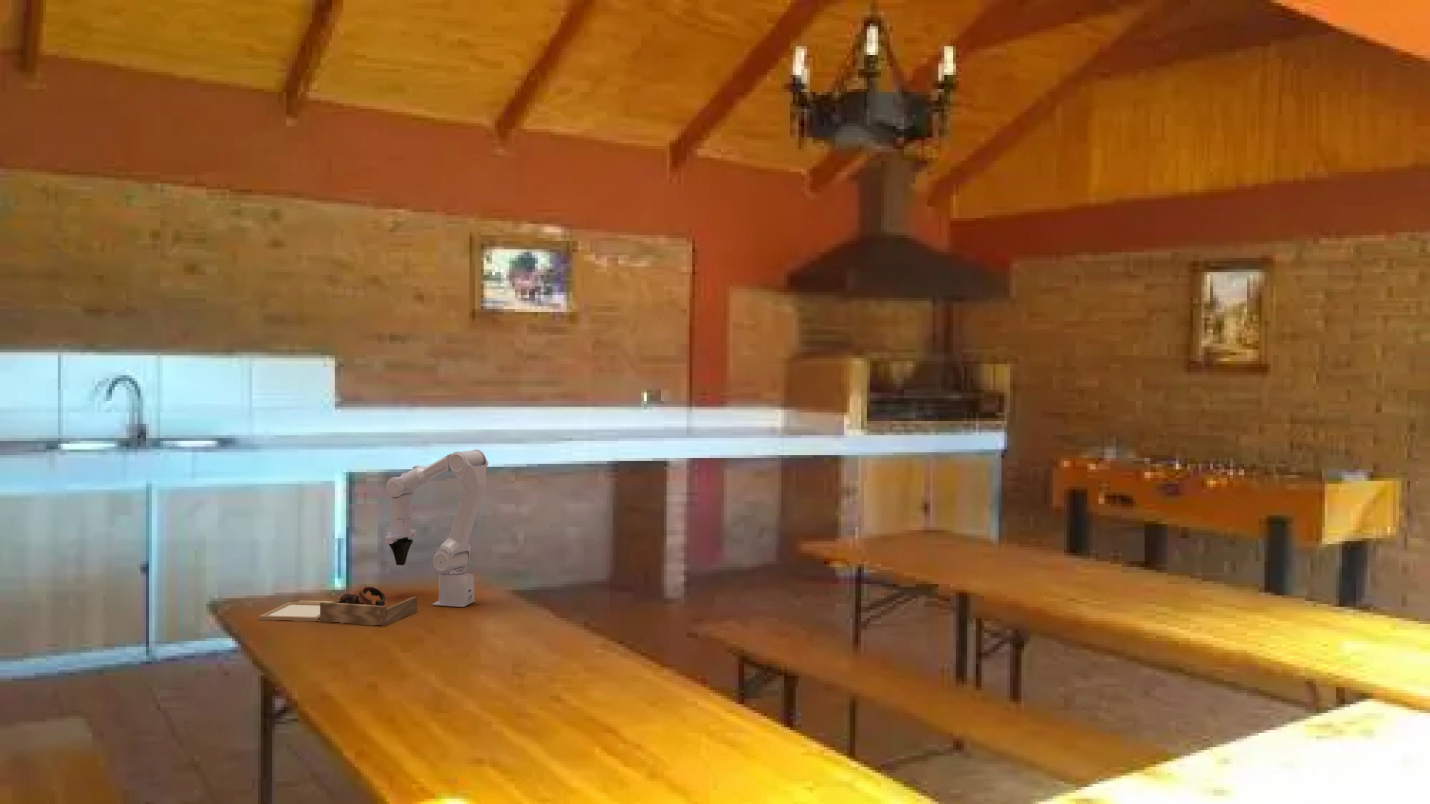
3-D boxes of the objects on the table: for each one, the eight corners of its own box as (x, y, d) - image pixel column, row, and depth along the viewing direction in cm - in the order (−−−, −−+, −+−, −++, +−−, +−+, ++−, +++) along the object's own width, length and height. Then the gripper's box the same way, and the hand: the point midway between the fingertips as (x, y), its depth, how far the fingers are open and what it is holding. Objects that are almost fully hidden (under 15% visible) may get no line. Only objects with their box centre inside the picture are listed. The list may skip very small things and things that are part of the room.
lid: (348, 605, 314) (348, 601, 314) (317, 621, 294) (317, 618, 294) (293, 603, 315) (293, 600, 315) (258, 620, 295) (258, 616, 295)
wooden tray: (417, 611, 307) (417, 593, 307) (384, 626, 290) (384, 607, 290) (356, 607, 311) (356, 589, 311) (320, 621, 294) (320, 602, 294)
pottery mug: (369, 609, 311) (382, 585, 310) (380, 630, 305) (393, 606, 303) (329, 604, 303) (342, 579, 301) (339, 626, 296) (352, 600, 295)
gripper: (400, 514, 332) (400, 559, 333) (375, 521, 318) (375, 568, 318) (422, 515, 331) (422, 561, 331) (397, 522, 316) (397, 569, 317)
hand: (400, 564), depth 325 cm, fingers closed
